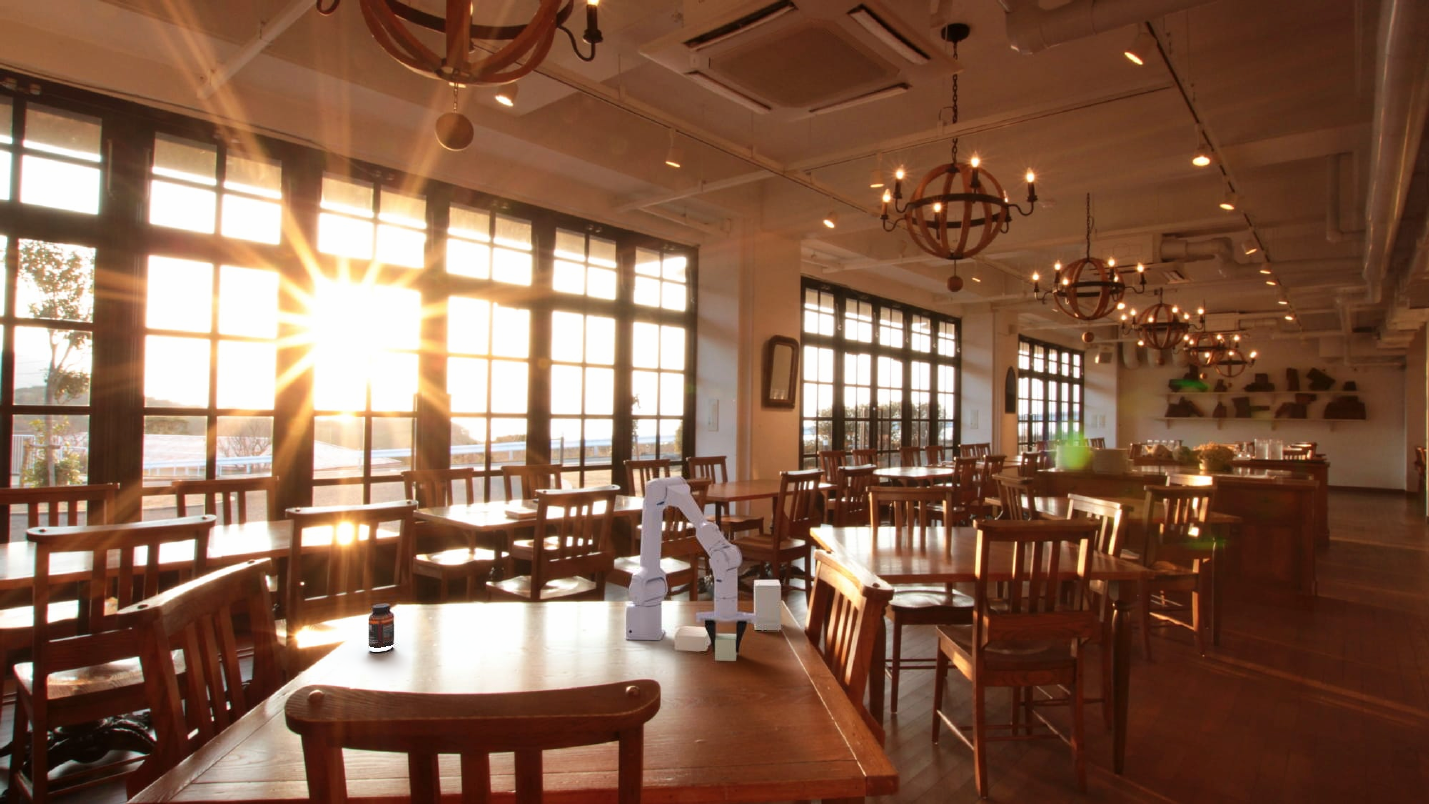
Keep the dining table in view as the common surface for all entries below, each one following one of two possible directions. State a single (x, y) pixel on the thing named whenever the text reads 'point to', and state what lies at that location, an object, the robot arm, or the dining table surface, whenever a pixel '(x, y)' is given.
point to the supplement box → (767, 604)
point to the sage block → (725, 647)
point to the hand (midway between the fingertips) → (726, 651)
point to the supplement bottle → (381, 626)
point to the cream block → (692, 639)
